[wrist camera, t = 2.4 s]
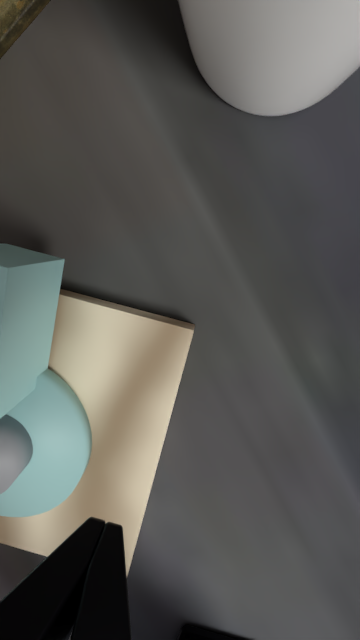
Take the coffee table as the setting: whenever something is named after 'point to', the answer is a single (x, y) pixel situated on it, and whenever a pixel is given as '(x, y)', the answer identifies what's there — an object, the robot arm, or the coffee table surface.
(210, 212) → the coffee table surface
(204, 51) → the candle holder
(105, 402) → the post board
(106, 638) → the robot arm
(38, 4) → the miniature house
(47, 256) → the flange
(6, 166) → the coffee table surface
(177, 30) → the coffee table surface
